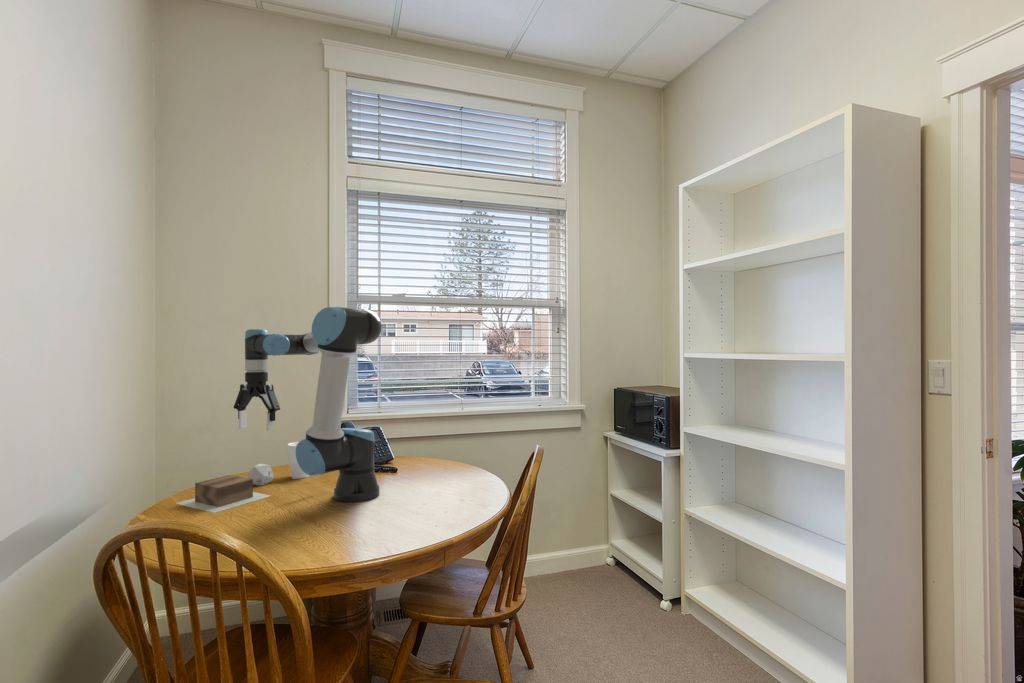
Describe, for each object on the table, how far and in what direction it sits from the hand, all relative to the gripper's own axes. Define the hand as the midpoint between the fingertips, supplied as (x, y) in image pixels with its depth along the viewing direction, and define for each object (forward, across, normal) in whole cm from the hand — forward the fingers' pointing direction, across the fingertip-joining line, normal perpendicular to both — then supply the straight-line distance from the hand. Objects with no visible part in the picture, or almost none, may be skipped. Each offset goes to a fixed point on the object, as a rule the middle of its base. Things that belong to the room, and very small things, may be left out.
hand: (256, 429), depth 191 cm
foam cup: (+21, -4, -17) cm, 27 cm away
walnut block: (+20, -6, +18) cm, 28 cm away
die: (+21, -1, -1) cm, 21 cm away
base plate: (+21, -6, +18) cm, 29 cm away
